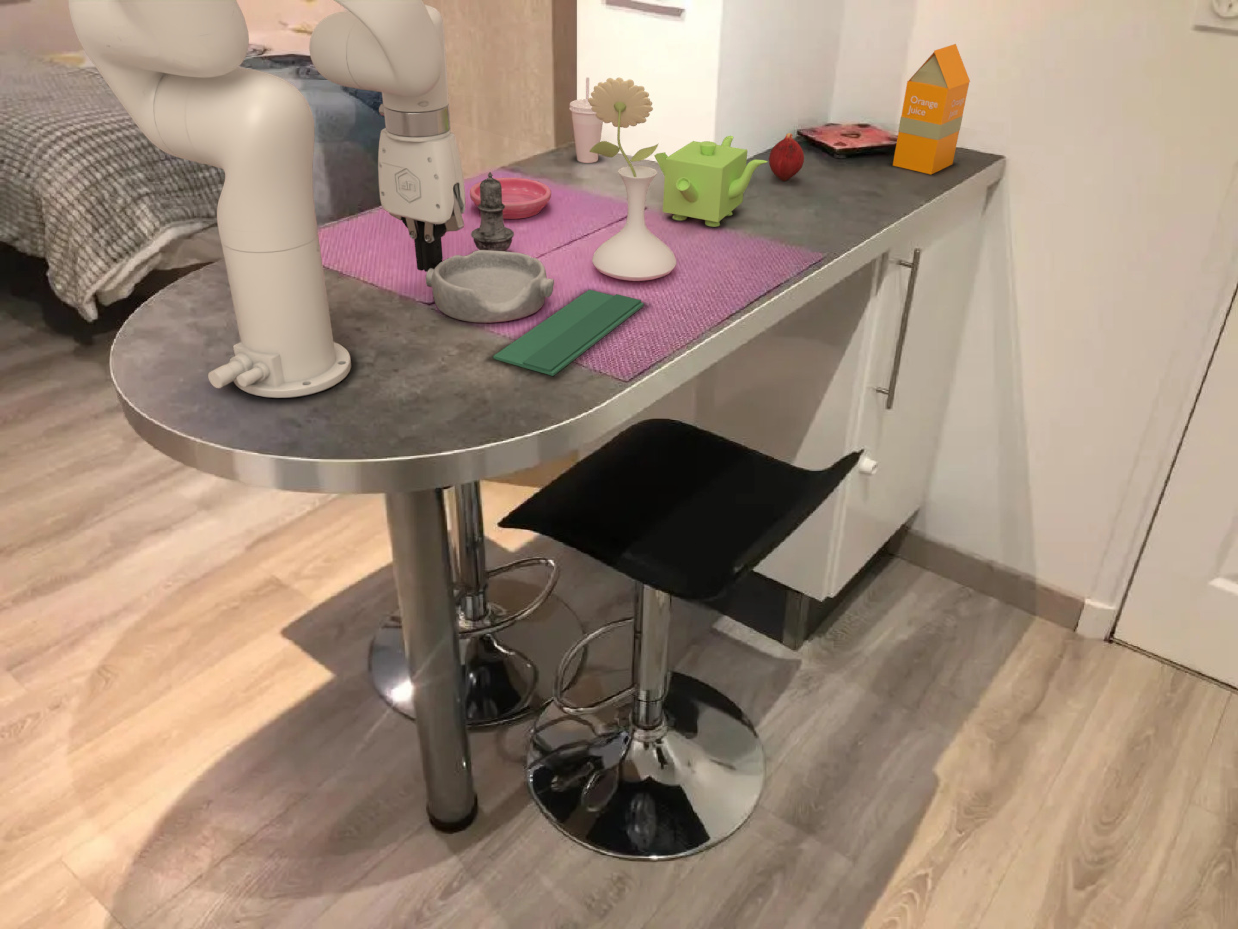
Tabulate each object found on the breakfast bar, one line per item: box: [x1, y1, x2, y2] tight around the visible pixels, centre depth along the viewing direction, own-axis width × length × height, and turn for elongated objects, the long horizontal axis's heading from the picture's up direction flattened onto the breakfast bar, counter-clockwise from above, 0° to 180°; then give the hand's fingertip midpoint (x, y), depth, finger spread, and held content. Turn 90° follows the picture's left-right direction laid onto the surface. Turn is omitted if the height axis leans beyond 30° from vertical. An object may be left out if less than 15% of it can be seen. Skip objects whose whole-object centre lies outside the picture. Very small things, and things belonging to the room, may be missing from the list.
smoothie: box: [569, 77, 604, 164], centre depth 177 cm, size 6×6×14 cm
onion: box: [768, 132, 805, 182], centre depth 171 cm, size 6×6×8 cm
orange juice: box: [892, 43, 971, 175], centre depth 178 cm, size 8×9×20 cm
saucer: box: [469, 177, 552, 220], centre depth 157 cm, size 12×12×3 cm
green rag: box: [492, 289, 645, 377], centre depth 122 cm, size 22×8×1 cm, turn 152°
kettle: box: [654, 135, 769, 227], centre depth 155 cm, size 15×14×11 cm
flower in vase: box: [588, 77, 677, 282], centre depth 132 cm, size 13×11×25 cm
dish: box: [425, 249, 555, 324], centre depth 127 cm, size 14×14×5 cm
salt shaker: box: [470, 171, 515, 252], centre depth 138 cm, size 6×6×12 cm
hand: (430, 267), depth 129 cm, fingers closed
